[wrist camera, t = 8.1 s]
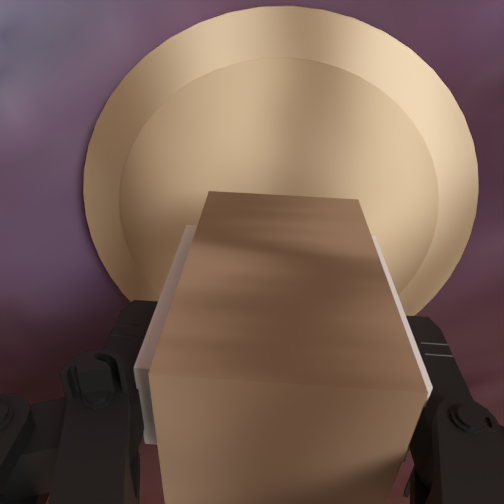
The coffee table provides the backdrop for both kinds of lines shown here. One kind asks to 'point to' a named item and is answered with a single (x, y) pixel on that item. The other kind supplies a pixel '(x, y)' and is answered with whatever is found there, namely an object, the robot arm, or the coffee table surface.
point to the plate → (282, 143)
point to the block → (283, 359)
